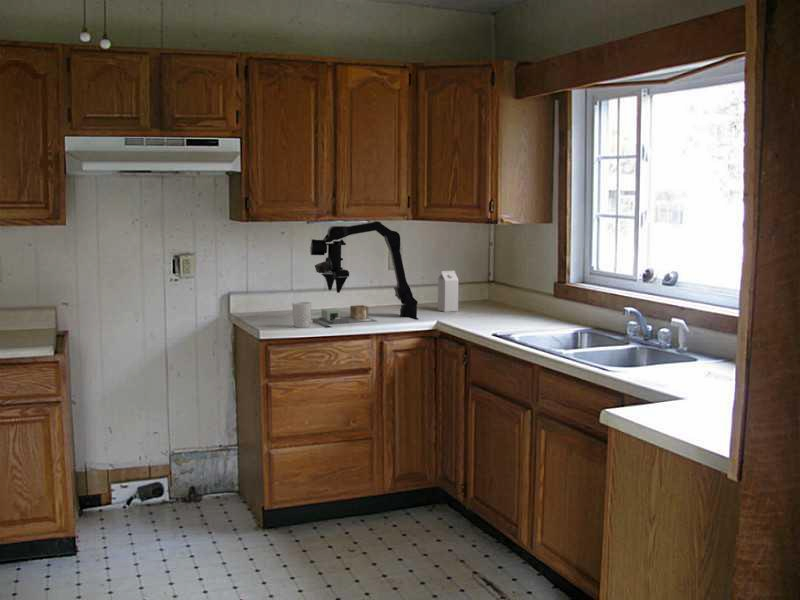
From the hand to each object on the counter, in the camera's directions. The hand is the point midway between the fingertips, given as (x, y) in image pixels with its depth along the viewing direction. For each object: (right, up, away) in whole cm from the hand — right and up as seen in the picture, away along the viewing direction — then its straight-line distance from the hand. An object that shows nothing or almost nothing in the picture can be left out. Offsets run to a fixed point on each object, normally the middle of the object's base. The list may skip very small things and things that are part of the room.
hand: (334, 291), depth 385 cm
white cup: (-12, -15, -12) cm, 23 cm away
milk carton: (+51, -9, +35) cm, 62 cm away
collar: (+11, -11, +5) cm, 16 cm away
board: (+5, -14, -3) cm, 15 cm away
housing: (-1, -12, -2) cm, 12 cm away
